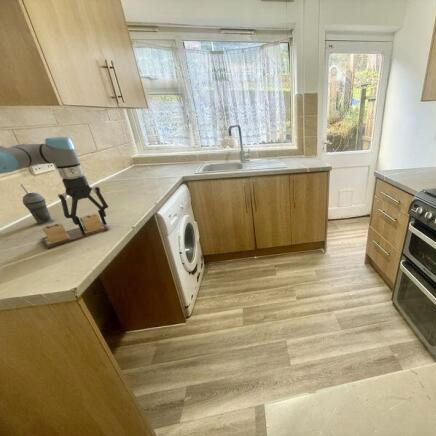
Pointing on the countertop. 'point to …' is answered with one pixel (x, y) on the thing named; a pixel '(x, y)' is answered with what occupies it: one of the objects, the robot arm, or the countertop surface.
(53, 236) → the tan toy block
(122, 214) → the countertop surface
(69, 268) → the countertop surface
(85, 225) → the tan wooden cube
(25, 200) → the beverage cup
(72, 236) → the word board
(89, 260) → the countertop surface
